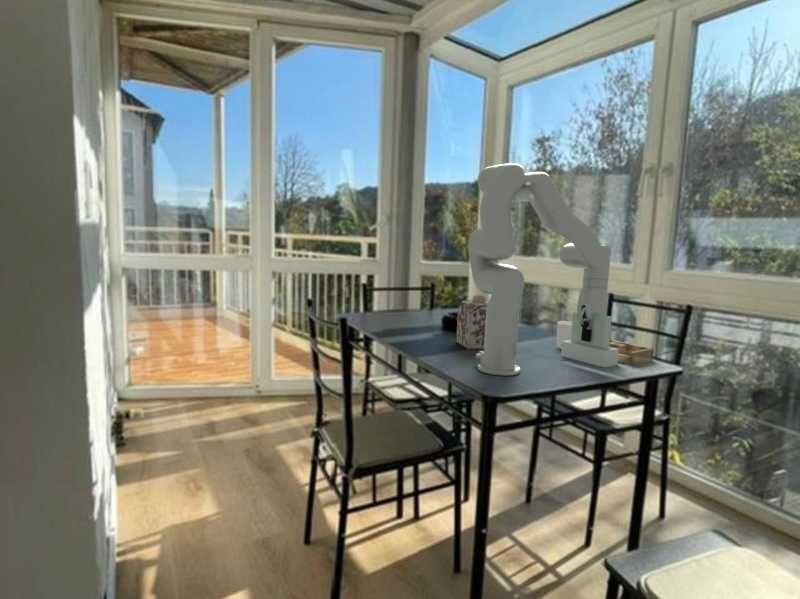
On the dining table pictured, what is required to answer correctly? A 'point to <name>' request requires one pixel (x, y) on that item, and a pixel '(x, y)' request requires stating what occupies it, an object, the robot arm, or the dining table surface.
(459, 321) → the decorative jar
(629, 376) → the dining table surface
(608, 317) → the tall sheet
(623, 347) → the offcut short
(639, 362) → the rack
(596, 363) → the holder
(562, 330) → the white cup
